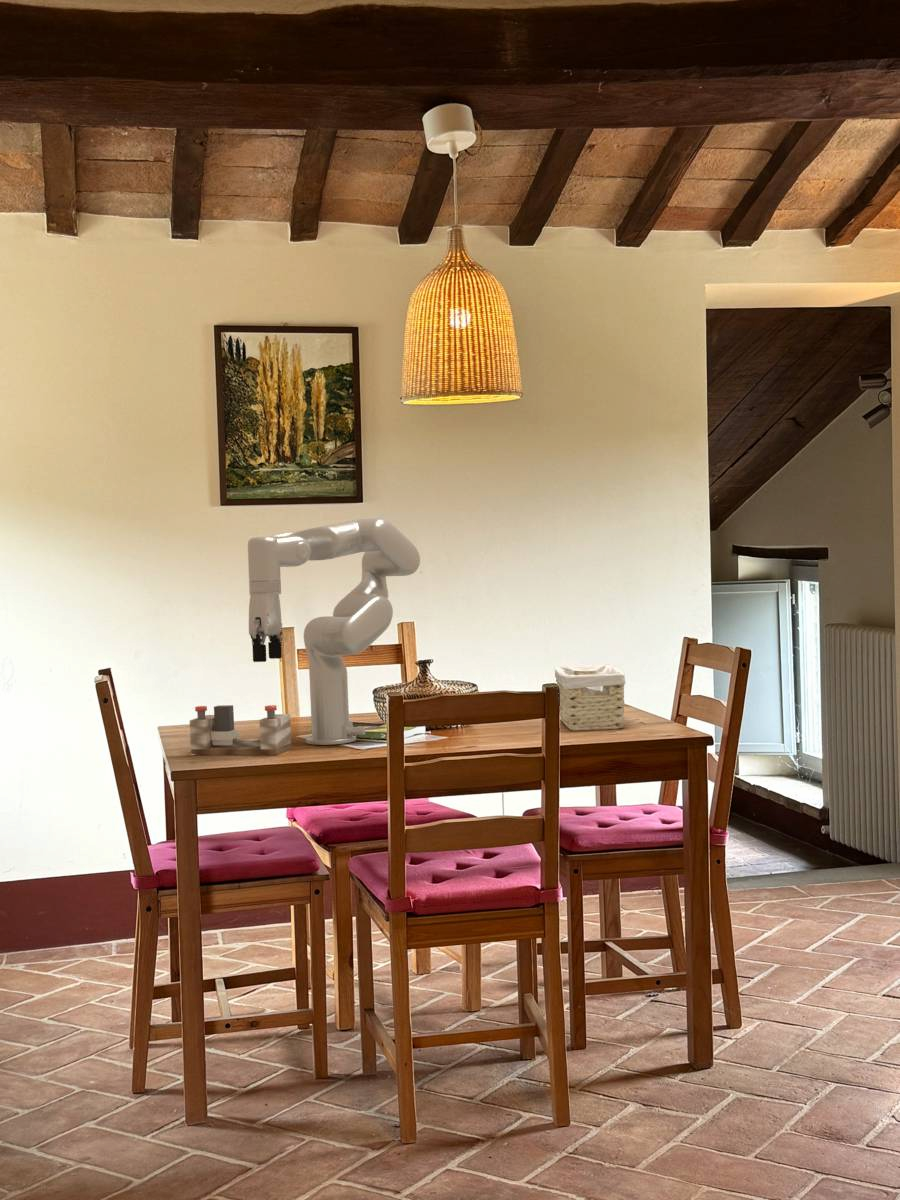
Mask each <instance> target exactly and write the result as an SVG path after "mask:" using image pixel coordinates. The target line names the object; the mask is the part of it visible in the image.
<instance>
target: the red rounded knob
mask: <svg viewBox="0 0 900 1200" xmlns="http://www.w3.org/2000/svg"><path fill="white" fill-rule="evenodd" d="M194 709H195V712H197V713H196V714H197V715H196V716H197V718H198V720H204V719H205V715H206V712H208V707H207V706H206V705H199V706H195V707H194Z"/></svg>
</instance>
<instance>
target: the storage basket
mask: <svg viewBox="0 0 900 1200" xmlns="http://www.w3.org/2000/svg"><path fill="white" fill-rule="evenodd" d="M554 677H555V682H556V686H557V685H558V686H559V688H560V706H559V712H560V713H559V716H560V719H561V721H562V723H564V725H565V726H566V727H567V728H568V729H569V730H570V731H573V732H577V731H599V730H600V731H603V730H617V729H623V728H624V724H625V716H624V714H625V690H624V689H625V684H626V678H625V673H624V672H623V671H622V670H620V669H619V668H618V667H616V666H614V665H610V664H598V665H596V664H595V665H594V664H592V665H590V664H589V665H569V666H556V667H554Z"/></svg>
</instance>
